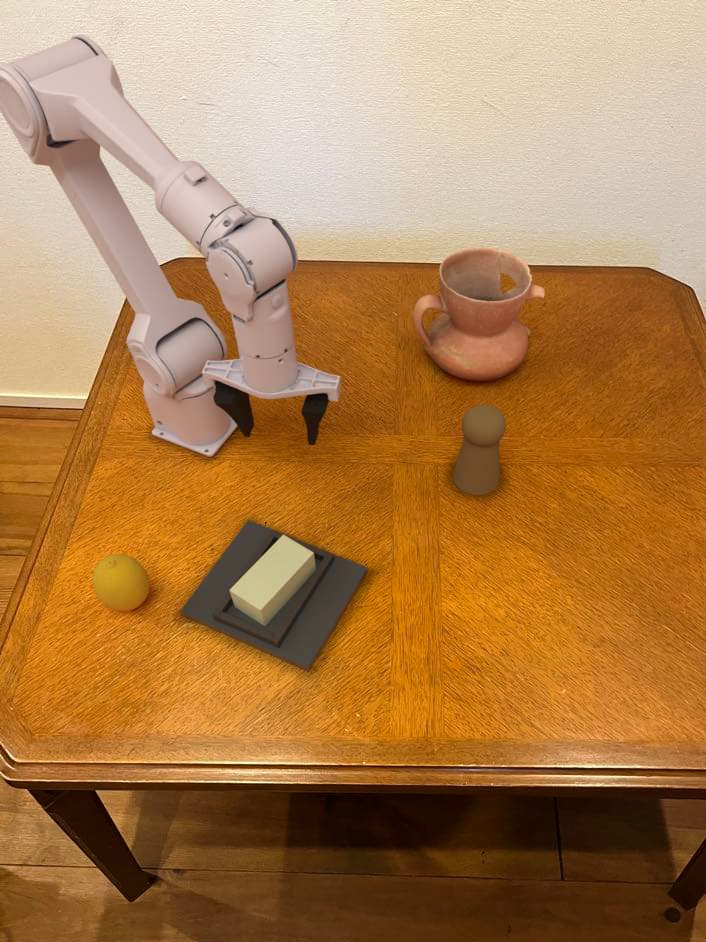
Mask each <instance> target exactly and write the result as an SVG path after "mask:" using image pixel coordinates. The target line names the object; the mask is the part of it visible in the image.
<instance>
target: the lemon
mask: <svg viewBox="0 0 706 942" xmlns="http://www.w3.org/2000/svg"><path fill="white" fill-rule="evenodd" d="M92 572H93V573H92V587H93V590H94V593H95V595H96V598H97V599H98V600H99V601H100V602H101V603H102V604H103V606H105V607H107V608H108V609H109V610H113V611H116V612H123V613H124V612H130V611H132V610H135V609H137V608H139V607H140V606H141V605H142V604H143V603H144V602H145V601H146V600H147V598H148V595H149V593H150V586H151V585H150V578H149V574H148V573H147V571H146V569H145V568H144V567H143V565H142V564H141V563H140V561H138V560H136V559H135V558H134V557H133V556H130V555H128V554H123V553H115V554H109V555H107V556H105V557H104V558H102V559H101V560H99V562H98V563H97V564H96V566H95V568H94V569H93V571H92Z"/></svg>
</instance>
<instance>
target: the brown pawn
mask: <svg viewBox="0 0 706 942" xmlns="http://www.w3.org/2000/svg"><path fill="white" fill-rule="evenodd" d="M506 430H507V421H506V418H505V416H504V414H503V412H502V411H500V409H498V408H497V407H495V406H494V405H489V404H477V405H475V406H472V407H470V409H468V410H467V411H466V412H465V413H464V415H463V418H462V420H461V431H462V434H463V440H462V443H461V446H460V449H459V452H458V455H457V459H456V462H455V466H454V468H453V472H452V481H453V483H454V485H455V486H456V487H457V489H459V490H460V491H462V492H463V493H465V494H468V495H472V496H484V495H488V494H490V493H492V492H494V491H495V490H496V489H497V488H498V486H499V484H500V481H501V480H500V479H501V478H500V477H501V476H500V475H501V473H500V470H501V469H500V466H501V465H500V463H501V462H500V441H501V440H502V439H503V437H504V435H505V433H506Z"/></svg>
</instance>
